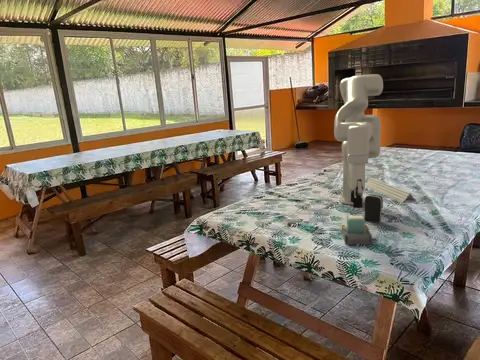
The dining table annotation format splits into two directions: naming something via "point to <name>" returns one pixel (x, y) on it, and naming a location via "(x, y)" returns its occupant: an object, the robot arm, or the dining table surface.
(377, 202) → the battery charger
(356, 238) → the tray
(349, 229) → the block
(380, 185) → the corner bead
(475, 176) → the dining table surface
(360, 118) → the robot arm
